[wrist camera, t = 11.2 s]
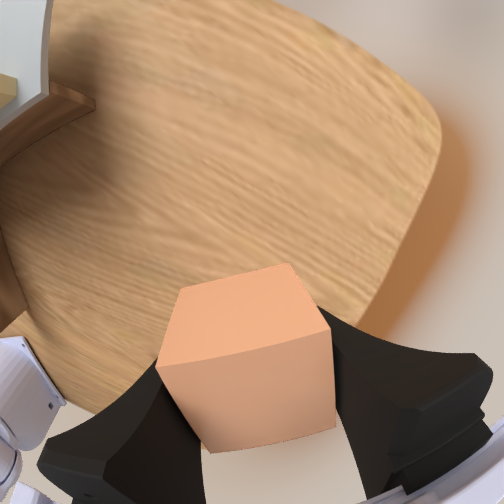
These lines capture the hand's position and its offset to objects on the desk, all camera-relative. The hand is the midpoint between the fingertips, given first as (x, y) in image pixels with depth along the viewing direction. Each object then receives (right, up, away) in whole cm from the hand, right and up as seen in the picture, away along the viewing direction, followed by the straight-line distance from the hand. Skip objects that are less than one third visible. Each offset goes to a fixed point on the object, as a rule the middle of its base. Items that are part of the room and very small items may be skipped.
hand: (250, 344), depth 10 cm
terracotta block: (0, +1, +1) cm, 2 cm away
